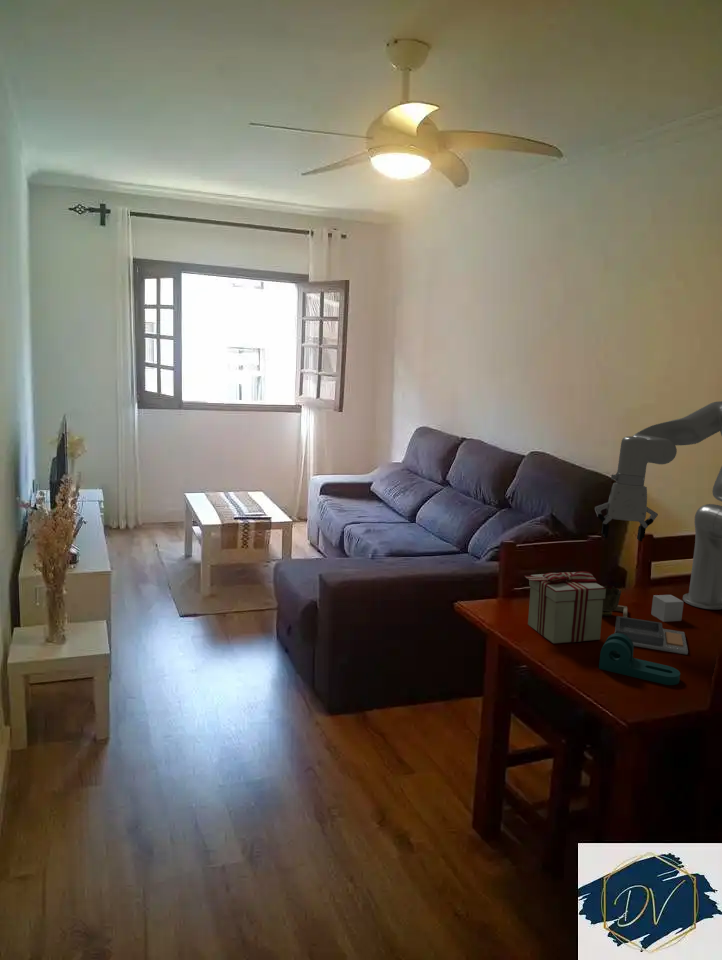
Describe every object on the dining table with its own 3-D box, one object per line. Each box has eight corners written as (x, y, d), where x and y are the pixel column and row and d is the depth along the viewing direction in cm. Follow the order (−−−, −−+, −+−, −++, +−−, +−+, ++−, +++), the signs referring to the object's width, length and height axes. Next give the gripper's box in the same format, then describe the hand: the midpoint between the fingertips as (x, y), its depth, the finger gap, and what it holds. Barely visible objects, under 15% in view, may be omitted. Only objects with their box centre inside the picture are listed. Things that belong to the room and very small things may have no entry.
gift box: (563, 616, 211) (568, 559, 208) (604, 640, 194) (611, 579, 191) (513, 621, 205) (518, 563, 202) (551, 647, 188) (557, 584, 185)
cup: (590, 616, 212) (592, 590, 210) (594, 608, 218) (597, 583, 217) (616, 621, 208) (619, 595, 207) (620, 613, 215) (623, 588, 213)
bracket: (598, 669, 177) (601, 639, 175) (603, 659, 182) (606, 630, 181) (677, 688, 168) (681, 657, 167) (680, 677, 174) (684, 647, 172)
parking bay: (585, 605, 221) (585, 600, 220) (626, 611, 217) (627, 606, 216) (583, 618, 210) (583, 613, 209) (626, 625, 206) (627, 620, 205)
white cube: (668, 613, 217) (671, 594, 216) (681, 621, 211) (683, 601, 210) (650, 614, 215) (653, 595, 214) (663, 621, 210) (665, 602, 208)
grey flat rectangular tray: (615, 624, 206) (616, 614, 205) (683, 635, 200) (685, 625, 199) (614, 642, 193) (615, 632, 192) (687, 654, 187) (688, 643, 186)
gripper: (601, 479, 201) (593, 538, 204) (665, 485, 199) (656, 545, 202) (596, 475, 209) (589, 532, 212) (658, 481, 207) (649, 538, 210)
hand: (622, 538), depth 207 cm, fingers open, 9 cm apart
